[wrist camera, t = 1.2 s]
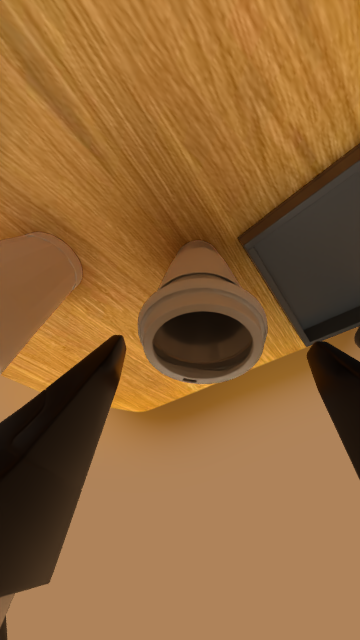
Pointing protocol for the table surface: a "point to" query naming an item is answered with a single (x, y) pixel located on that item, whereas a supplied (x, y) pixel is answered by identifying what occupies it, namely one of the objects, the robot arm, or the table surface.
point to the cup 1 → (32, 287)
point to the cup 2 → (202, 320)
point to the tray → (314, 252)
